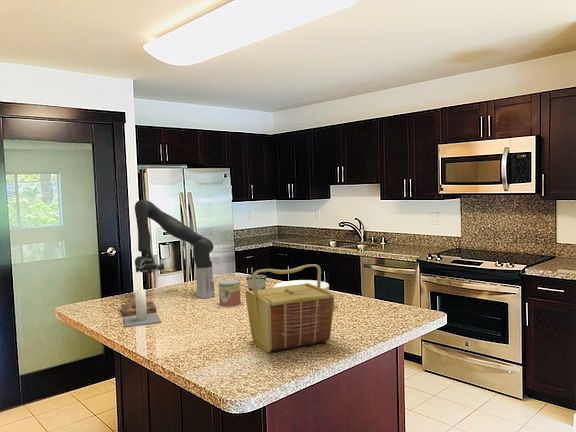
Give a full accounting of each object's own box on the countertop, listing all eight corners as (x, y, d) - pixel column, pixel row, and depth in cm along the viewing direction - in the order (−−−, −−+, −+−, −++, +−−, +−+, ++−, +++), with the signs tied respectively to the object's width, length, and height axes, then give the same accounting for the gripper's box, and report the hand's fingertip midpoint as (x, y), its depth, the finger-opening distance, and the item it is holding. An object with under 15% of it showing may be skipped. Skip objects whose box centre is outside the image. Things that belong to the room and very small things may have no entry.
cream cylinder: (146, 317, 229) (145, 288, 228) (147, 320, 224) (146, 290, 223) (136, 318, 227) (134, 290, 226) (136, 321, 222) (135, 291, 222)
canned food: (215, 306, 249) (214, 283, 249) (226, 301, 260) (225, 279, 259) (234, 307, 245) (233, 284, 245) (244, 302, 256) (243, 280, 255)
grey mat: (157, 314, 236) (157, 313, 236) (161, 322, 221) (161, 321, 221) (123, 318, 230) (123, 317, 230) (125, 327, 215) (125, 326, 215)
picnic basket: (267, 359, 169) (264, 275, 167) (244, 339, 193) (241, 265, 191) (338, 345, 181) (336, 267, 179) (308, 328, 204) (306, 259, 203)
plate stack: (290, 318, 222) (289, 294, 221) (265, 306, 247) (264, 284, 246) (340, 309, 235) (339, 286, 234) (311, 298, 260) (311, 278, 259)
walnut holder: (153, 305, 254) (152, 301, 254) (156, 312, 240) (156, 307, 239) (121, 309, 249) (121, 304, 248) (123, 316, 234) (122, 311, 234)
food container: (268, 291, 282) (268, 274, 281) (267, 293, 276) (266, 276, 275) (248, 291, 283) (247, 274, 282) (246, 293, 277) (245, 276, 276)
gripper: (133, 260, 256) (136, 263, 241) (160, 257, 262) (164, 260, 247) (134, 274, 257) (137, 278, 242) (161, 270, 262) (165, 275, 247)
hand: (151, 269), depth 244 cm, fingers open, 8 cm apart
